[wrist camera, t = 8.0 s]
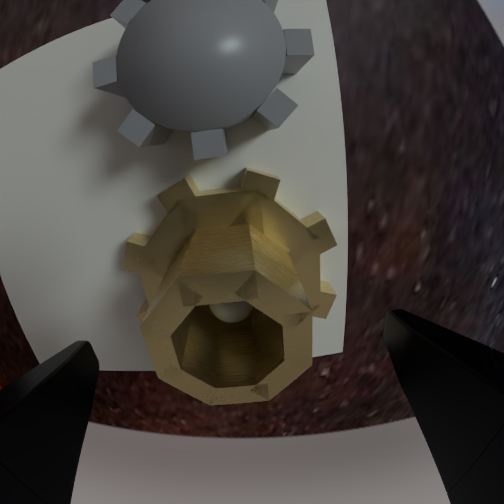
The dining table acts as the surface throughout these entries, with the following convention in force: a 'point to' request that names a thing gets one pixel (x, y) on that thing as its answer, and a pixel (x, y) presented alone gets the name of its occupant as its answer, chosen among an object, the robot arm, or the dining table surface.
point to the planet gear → (231, 289)
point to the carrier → (160, 155)
